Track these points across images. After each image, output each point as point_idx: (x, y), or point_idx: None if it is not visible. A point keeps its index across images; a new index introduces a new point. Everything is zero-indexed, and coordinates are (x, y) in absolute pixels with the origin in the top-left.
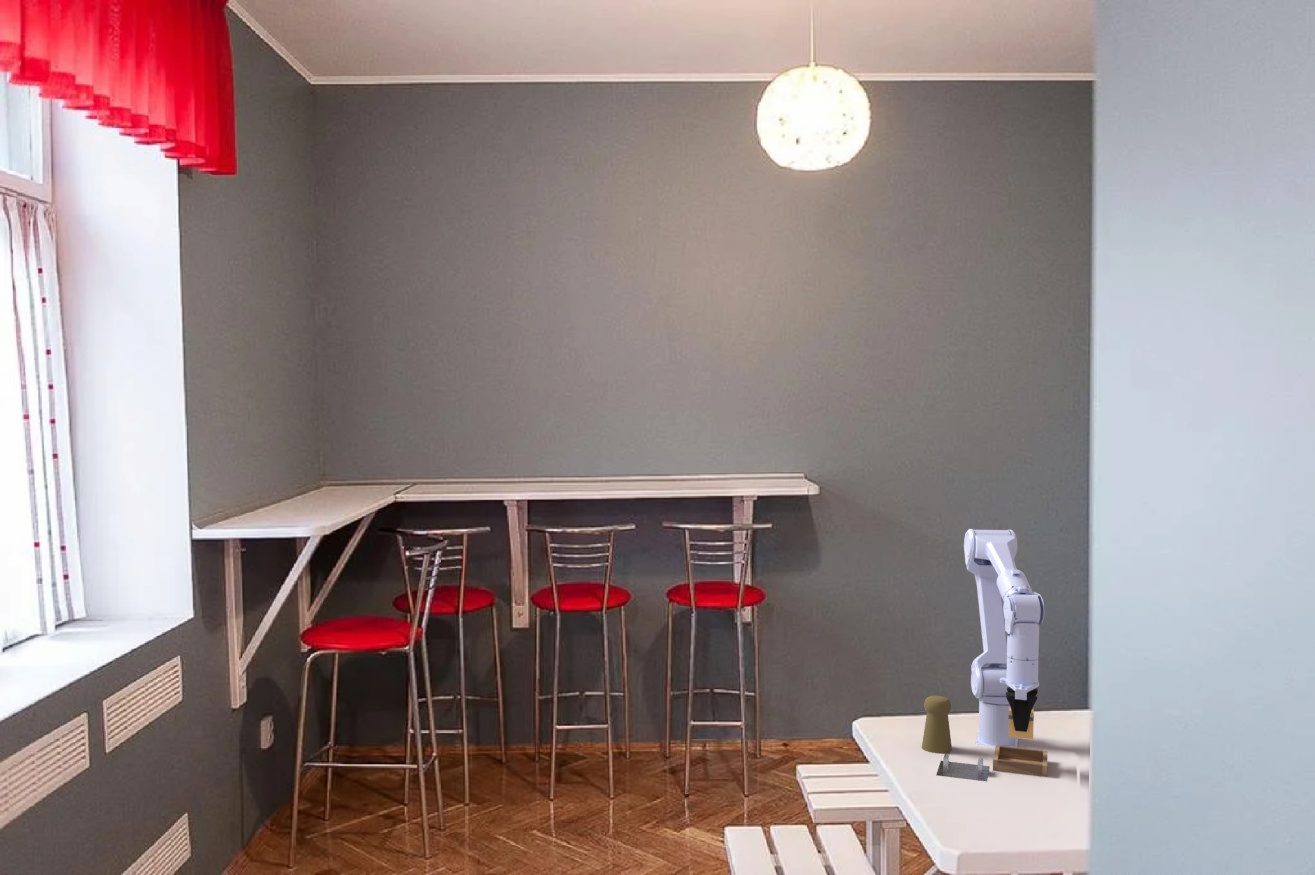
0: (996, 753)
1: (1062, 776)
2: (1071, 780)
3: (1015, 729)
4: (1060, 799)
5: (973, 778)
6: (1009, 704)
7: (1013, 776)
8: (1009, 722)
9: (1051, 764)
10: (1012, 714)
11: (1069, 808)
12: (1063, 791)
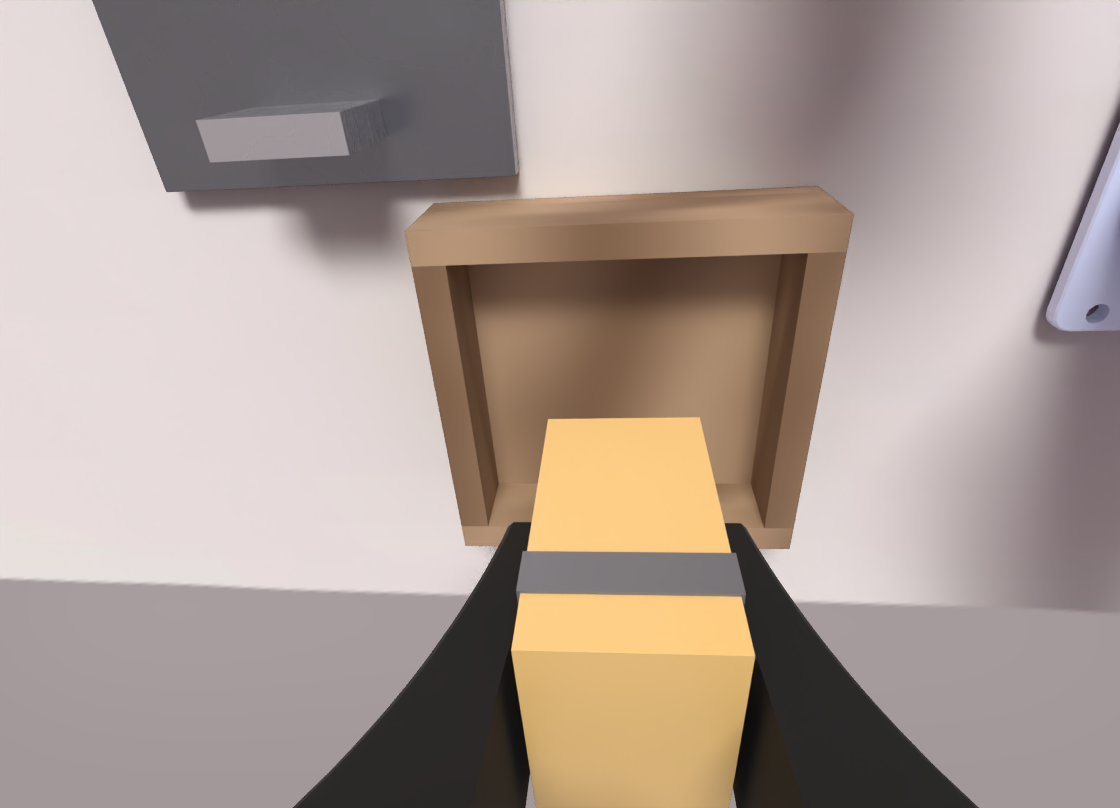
0: (599, 244)
1: None
2: None
3: (507, 533)
4: (235, 537)
5: (150, 85)
6: (299, 805)
7: None
8: (535, 527)
9: None
10: (428, 660)
11: (150, 562)
12: (354, 548)
